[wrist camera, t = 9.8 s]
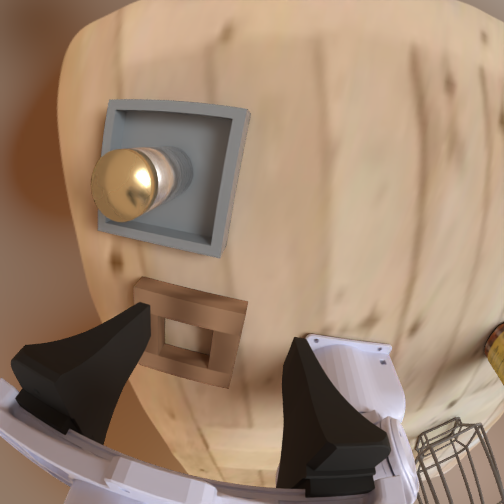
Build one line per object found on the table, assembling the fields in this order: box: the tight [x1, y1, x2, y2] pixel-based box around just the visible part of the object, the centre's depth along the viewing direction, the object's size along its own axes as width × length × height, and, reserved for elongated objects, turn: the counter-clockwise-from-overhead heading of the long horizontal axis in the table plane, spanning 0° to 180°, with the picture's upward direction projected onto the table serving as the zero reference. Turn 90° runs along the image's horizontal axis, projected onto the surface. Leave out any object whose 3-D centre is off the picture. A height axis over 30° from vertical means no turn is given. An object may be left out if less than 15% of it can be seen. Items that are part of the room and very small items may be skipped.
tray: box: [98, 99, 251, 258], centre depth 19 cm, size 11×11×2 cm
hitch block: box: [133, 277, 248, 389], centre depth 25 cm, size 10×10×2 cm
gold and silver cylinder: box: [91, 146, 193, 222], centre depth 16 cm, size 4×4×7 cm
